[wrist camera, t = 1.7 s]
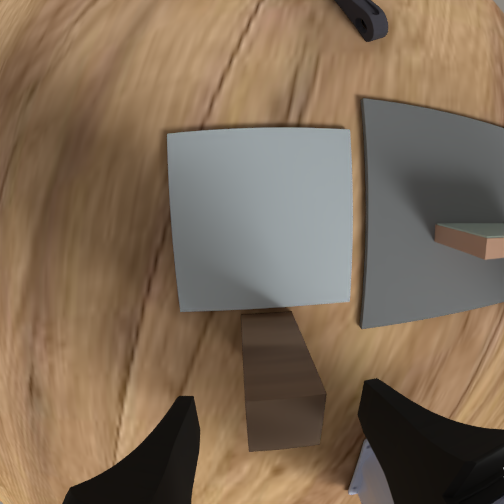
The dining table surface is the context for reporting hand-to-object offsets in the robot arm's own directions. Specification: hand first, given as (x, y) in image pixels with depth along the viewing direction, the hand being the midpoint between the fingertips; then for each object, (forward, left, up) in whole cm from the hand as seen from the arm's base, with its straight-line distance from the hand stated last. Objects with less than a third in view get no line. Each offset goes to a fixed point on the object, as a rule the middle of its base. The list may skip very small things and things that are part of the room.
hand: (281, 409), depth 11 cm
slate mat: (+7, -15, -7) cm, 18 cm away
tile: (+6, -15, -7) cm, 18 cm away
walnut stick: (0, 0, -7) cm, 7 cm away
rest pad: (+7, 0, -7) cm, 10 cm away
